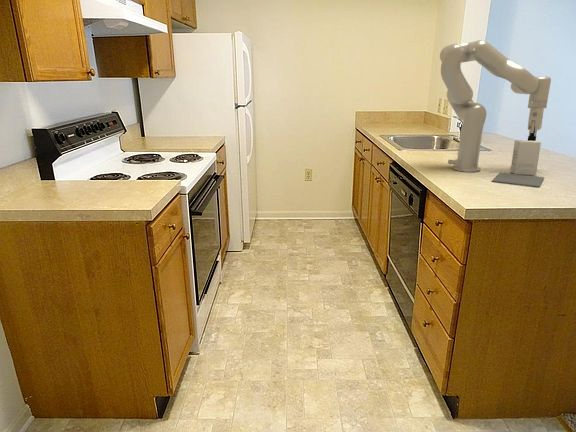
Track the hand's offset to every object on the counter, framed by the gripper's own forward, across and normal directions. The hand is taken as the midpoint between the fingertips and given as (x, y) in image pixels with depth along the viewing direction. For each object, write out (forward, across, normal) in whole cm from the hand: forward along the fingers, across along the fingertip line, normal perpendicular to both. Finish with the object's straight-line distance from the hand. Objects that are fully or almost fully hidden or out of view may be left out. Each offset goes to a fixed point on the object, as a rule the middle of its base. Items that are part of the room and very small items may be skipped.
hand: (530, 144), depth 196 cm
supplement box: (+12, -10, +1) cm, 16 cm away
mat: (+12, -25, 0) cm, 28 cm away
